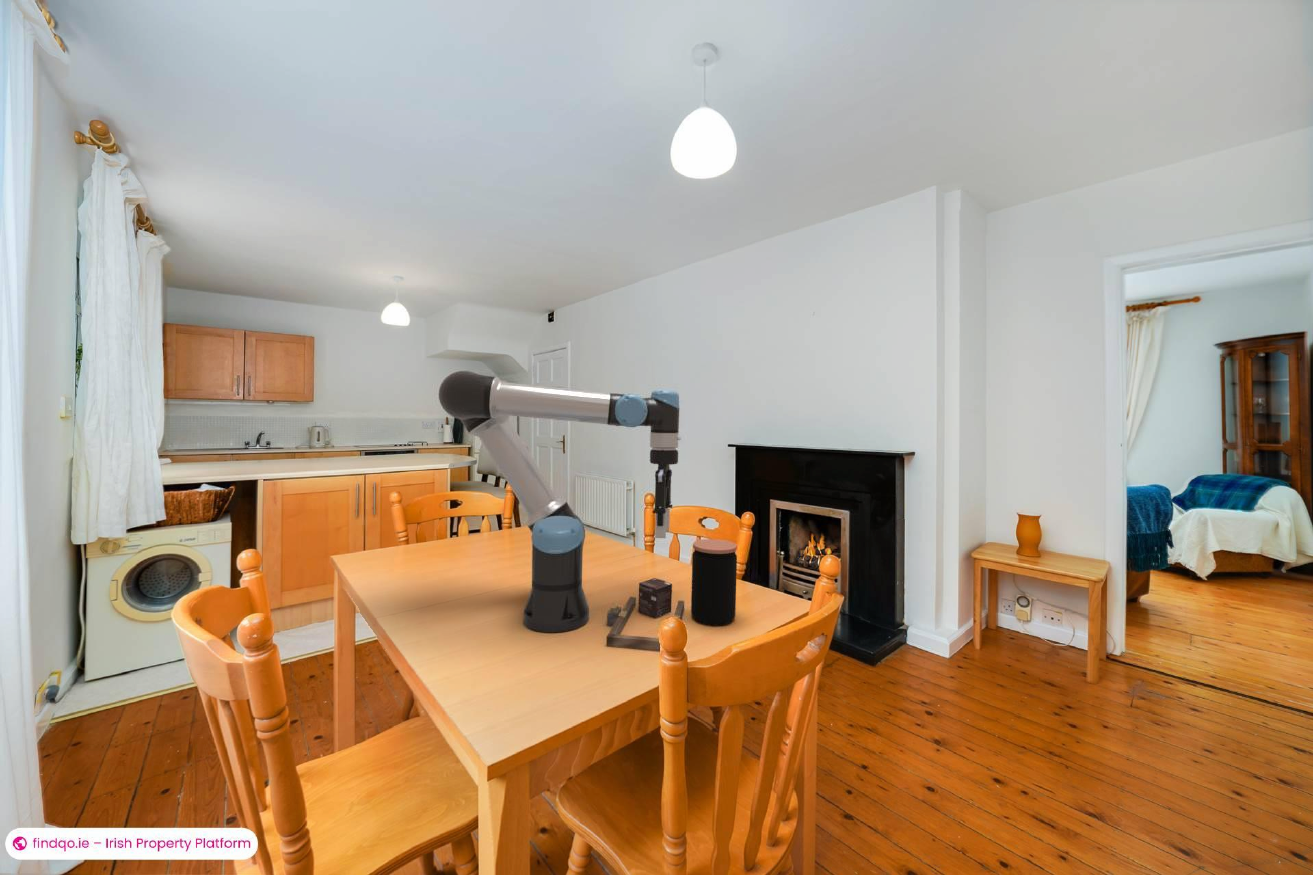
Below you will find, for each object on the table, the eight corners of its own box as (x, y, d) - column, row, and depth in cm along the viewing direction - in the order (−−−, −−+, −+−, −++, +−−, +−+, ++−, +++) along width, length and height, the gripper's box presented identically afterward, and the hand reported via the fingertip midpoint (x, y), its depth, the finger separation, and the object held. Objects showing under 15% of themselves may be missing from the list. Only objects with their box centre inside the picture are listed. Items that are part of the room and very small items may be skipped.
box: (637, 611, 123) (638, 582, 123) (654, 605, 128) (654, 577, 127) (655, 618, 119) (656, 588, 119) (672, 612, 123) (672, 583, 123)
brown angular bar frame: (594, 644, 104) (595, 627, 104) (620, 603, 128) (620, 589, 128) (672, 652, 102) (673, 633, 102) (684, 608, 126) (684, 593, 125)
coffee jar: (740, 614, 123) (742, 542, 122) (727, 630, 113) (729, 552, 113) (699, 606, 127) (701, 537, 127) (684, 621, 118) (686, 546, 117)
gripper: (673, 451, 122) (671, 544, 123) (682, 447, 141) (680, 527, 142) (643, 450, 123) (641, 542, 124) (656, 446, 142) (654, 526, 143)
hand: (662, 534), depth 133 cm, fingers open, 6 cm apart
